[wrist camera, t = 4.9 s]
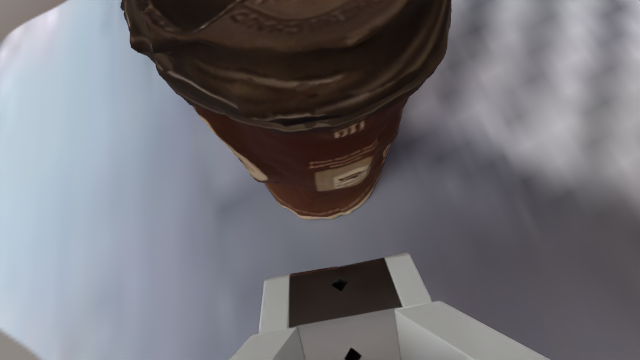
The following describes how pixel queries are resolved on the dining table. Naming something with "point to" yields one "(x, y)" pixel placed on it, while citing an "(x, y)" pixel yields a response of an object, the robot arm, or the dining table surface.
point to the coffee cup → (297, 83)
